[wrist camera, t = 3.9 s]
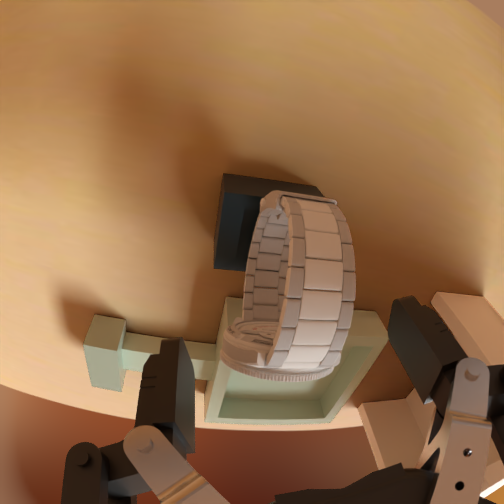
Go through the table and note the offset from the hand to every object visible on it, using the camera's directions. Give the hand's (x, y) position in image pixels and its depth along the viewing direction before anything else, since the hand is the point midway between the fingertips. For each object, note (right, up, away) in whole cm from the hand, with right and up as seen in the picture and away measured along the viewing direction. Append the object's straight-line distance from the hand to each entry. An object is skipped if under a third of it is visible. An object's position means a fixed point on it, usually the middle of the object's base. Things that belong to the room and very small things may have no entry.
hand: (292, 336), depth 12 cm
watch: (-1, +5, +8) cm, 10 cm away
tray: (-3, -5, +14) cm, 15 cm away
